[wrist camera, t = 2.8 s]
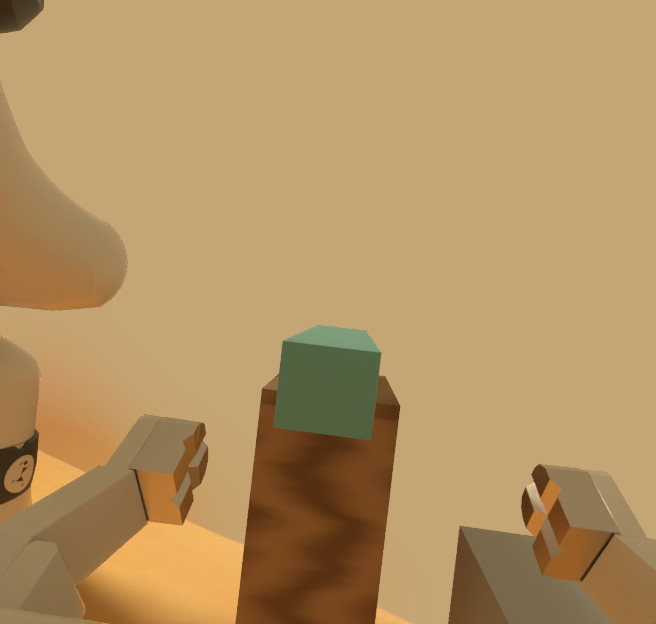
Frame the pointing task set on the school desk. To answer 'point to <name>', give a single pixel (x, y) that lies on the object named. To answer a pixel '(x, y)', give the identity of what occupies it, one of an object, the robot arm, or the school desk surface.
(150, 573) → the school desk surface
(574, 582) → the step
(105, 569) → the school desk surface
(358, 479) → the bookcase block
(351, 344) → the book
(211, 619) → the school desk surface
